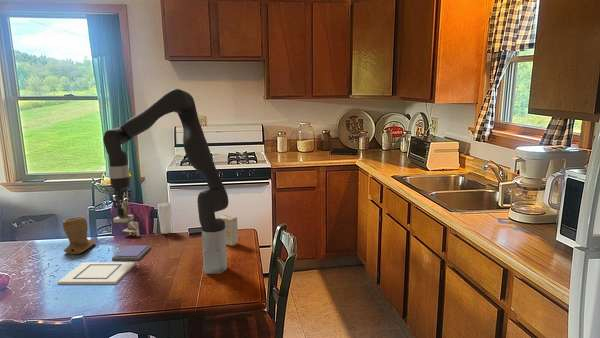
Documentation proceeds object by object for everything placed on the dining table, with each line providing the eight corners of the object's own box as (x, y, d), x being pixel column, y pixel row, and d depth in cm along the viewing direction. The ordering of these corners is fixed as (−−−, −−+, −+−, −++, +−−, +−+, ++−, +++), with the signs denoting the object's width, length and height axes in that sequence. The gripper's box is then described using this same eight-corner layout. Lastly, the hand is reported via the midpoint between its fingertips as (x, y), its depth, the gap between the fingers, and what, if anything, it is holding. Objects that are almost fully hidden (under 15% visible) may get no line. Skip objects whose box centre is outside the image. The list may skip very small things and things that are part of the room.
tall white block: (159, 235, 210) (156, 206, 207) (159, 231, 217) (157, 202, 214) (173, 233, 212) (171, 205, 209) (173, 229, 218) (171, 201, 216)
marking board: (115, 284, 157) (115, 281, 157) (57, 284, 158) (57, 281, 157) (135, 264, 175) (134, 261, 175) (83, 264, 175) (82, 261, 175)
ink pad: (138, 260, 179) (138, 256, 179) (112, 260, 180) (111, 256, 179) (150, 248, 193) (150, 244, 193) (126, 248, 193) (125, 244, 193)
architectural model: (135, 238, 207) (134, 224, 206) (123, 237, 209) (121, 223, 207) (139, 236, 210) (138, 222, 209) (127, 235, 212) (126, 221, 211)
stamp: (127, 223, 177) (125, 205, 175) (113, 223, 177) (111, 205, 176) (133, 219, 183) (132, 201, 181) (120, 219, 183) (118, 201, 181)
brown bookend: (74, 243, 200) (70, 213, 197) (99, 243, 200) (96, 213, 197) (56, 256, 185) (52, 223, 182) (83, 255, 185) (79, 223, 182)
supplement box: (238, 243, 198) (237, 217, 195) (232, 246, 194) (230, 219, 191) (225, 240, 202) (224, 214, 200) (218, 243, 198) (217, 217, 196)
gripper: (120, 179, 169) (124, 220, 172) (135, 172, 183) (138, 210, 186) (102, 179, 169) (106, 220, 173) (118, 172, 183) (122, 210, 186)
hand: (123, 215), depth 179 cm, fingers closed on stamp, 3 cm apart
